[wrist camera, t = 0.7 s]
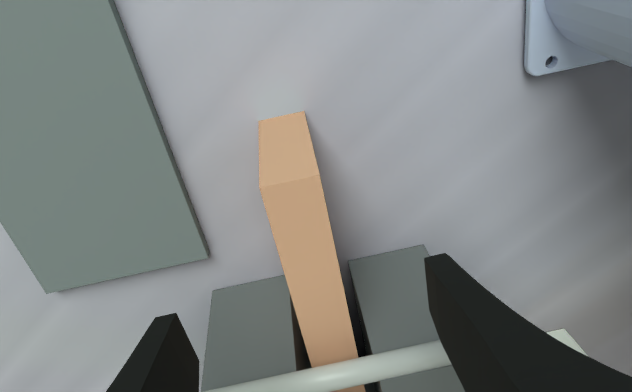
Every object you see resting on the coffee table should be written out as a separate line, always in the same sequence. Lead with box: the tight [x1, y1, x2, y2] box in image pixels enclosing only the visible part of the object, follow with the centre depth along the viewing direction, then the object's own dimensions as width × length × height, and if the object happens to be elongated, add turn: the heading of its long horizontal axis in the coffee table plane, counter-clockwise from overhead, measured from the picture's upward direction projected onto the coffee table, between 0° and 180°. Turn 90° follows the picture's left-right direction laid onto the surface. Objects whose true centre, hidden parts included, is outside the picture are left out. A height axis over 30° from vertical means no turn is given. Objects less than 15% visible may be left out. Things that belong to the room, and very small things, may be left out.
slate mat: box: [0, 0, 209, 294], centre depth 19 cm, size 8×16×1 cm, turn 11°
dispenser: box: [201, 245, 465, 392], centre depth 24 cm, size 11×11×8 cm
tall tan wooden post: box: [259, 111, 366, 392], centre depth 21 cm, size 2×12×6 cm, turn 11°
